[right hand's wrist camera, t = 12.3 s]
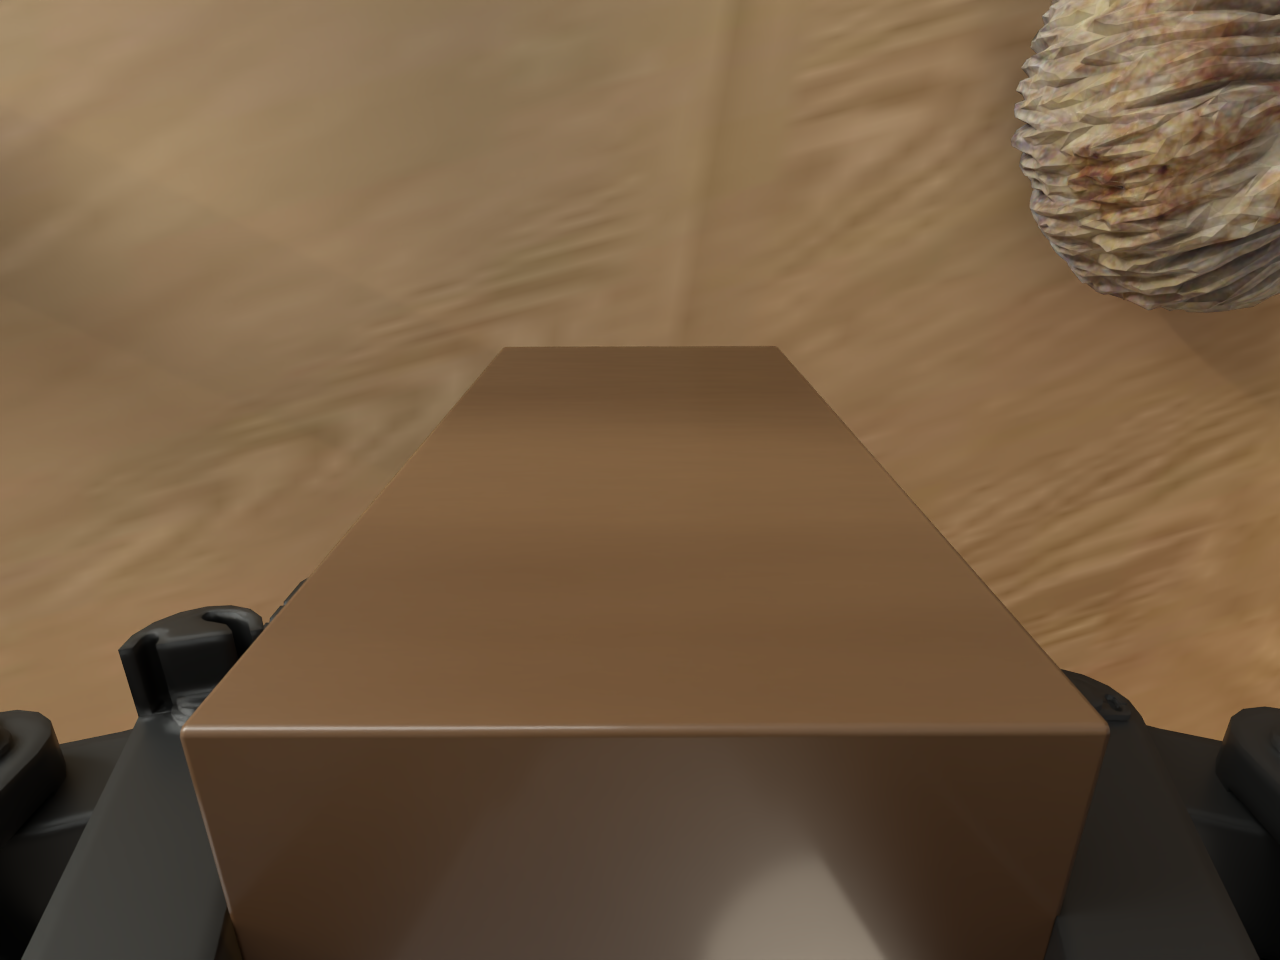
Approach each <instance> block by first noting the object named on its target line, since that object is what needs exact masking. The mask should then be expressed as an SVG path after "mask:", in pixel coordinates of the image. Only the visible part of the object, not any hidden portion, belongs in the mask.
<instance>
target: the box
mask: <svg viewBox="0 0 1280 960" xmlns="http://www.w3.org/2000/svg"><path fill="white" fill-rule="evenodd" d="M1109 738H1110V728H1109V725H1108V723H1107V722H1106V721H1105V720H1104V718H1103V717H1102V716H1101V715H1100V714H1099V713H1098V712H1097V710H1096V709H1095V708H1094V707H1093V706H1092V705H1091V704H1090V703H1089V701H1088V700H1087V699H1086V698H1085V697H1084V696H1083V695H1082V693H1081V692H1080V691H1079V690H1078V689H1077V688H1076V687H1075V685H1074V684H1073V683H1072V682H1071V681H1070V680H1069V679H1068V677H1067V676H1066V675H1065V674H1064V673H1063V672H1062V671H1061V670H1060V668H1059V667H1058V666H1057V665H1056V664H1055V663H1054V662H1053V660H1052V659H1051V658H1050V657H1049V656H1048V655H1047V654H1046V652H1045V651H1044V650H1043V649H1042V648H1041V647H1040V646H1039V644H1038V643H1037V642H1036V641H1035V640H1034V639H1033V638H1032V636H1031V635H1030V634H1029V633H1028V632H1027V631H1026V630H1025V629H1024V627H1023V626H1022V625H1021V624H1020V623H1019V622H1018V621H1017V619H1016V618H1015V617H1014V616H1013V615H1012V614H1011V613H1010V611H1009V610H1008V609H1007V608H1006V607H1005V606H1004V605H1003V603H1002V602H1001V601H1000V600H999V599H998V598H997V597H996V595H995V594H994V593H993V592H992V591H991V590H990V589H989V588H988V586H987V585H986V584H985V583H984V582H983V581H982V580H981V578H980V577H979V576H978V575H977V574H976V573H975V572H974V570H973V569H972V568H971V567H970V566H969V565H968V564H967V562H966V561H965V560H964V559H963V558H962V557H961V556H960V555H959V553H958V552H957V551H956V550H955V549H954V548H953V547H952V545H951V544H950V543H949V542H948V541H947V540H946V539H945V537H944V536H943V535H942V534H941V533H940V532H939V531H938V529H937V528H936V527H935V526H934V525H933V524H932V523H931V521H930V520H929V519H928V518H927V517H926V516H925V515H924V514H923V512H922V511H921V510H920V509H919V508H918V507H917V506H916V504H915V503H914V502H913V501H912V500H911V499H910V498H909V496H908V495H907V494H906V493H905V492H904V491H903V490H902V488H901V487H900V486H899V485H898V484H897V483H896V482H895V481H894V479H893V478H892V477H891V476H890V475H889V474H888V473H887V471H886V470H885V469H884V468H883V467H882V466H881V465H880V463H879V462H878V461H877V460H876V459H875V458H874V457H873V455H872V454H871V453H870V452H869V451H868V450H867V449H866V447H865V446H864V445H863V444H862V443H861V442H860V441H859V440H858V438H857V437H856V436H855V435H854V434H853V433H852V432H851V430H850V429H849V428H848V427H847V426H846V425H845V424H844V422H843V421H842V420H841V419H840V418H839V417H838V416H837V414H836V413H835V412H834V411H833V410H832V409H831V408H830V406H829V405H828V404H827V403H826V402H825V401H824V400H823V399H822V397H821V396H820V395H819V394H818V393H817V392H816V391H815V389H814V388H813V387H812V386H811V385H810V384H809V383H808V381H807V380H806V379H805V378H804V377H803V376H802V375H801V373H800V372H799V371H798V370H797V369H796V368H795V367H794V366H793V364H792V363H791V362H790V361H789V360H788V359H787V358H786V356H785V355H784V354H783V353H782V352H781V351H780V350H779V348H778V347H776V346H726V347H504V348H503V349H502V350H501V351H500V353H499V354H498V355H497V356H496V357H495V358H494V360H493V361H492V362H491V363H490V364H489V366H488V367H487V368H486V369H485V370H484V371H483V373H482V374H481V375H480V376H479V377H478V378H477V380H476V381H475V382H474V383H473V384H472V386H471V387H470V388H469V389H468V390H467V391H466V393H465V394H464V395H463V396H462V397H461V399H460V400H459V401H458V402H457V403H456V404H455V406H454V407H453V408H452V409H451V410H450V411H449V413H448V414H447V415H446V416H445V417H444V419H443V420H442V421H441V422H440V423H439V424H438V426H437V427H436V428H435V429H434V430H433V431H432V433H431V434H430V435H429V436H428V437H427V439H426V440H425V441H424V442H423V443H422V444H421V446H420V447H419V448H418V449H417V450H416V451H415V453H414V454H413V455H412V456H411V457H410V459H409V460H408V461H407V462H406V463H405V464H404V466H403V467H402V468H401V469H400V470H399V472H398V473H397V474H396V475H395V476H394V477H393V479H392V480H391V481H390V482H389V483H388V484H387V486H386V487H385V488H384V489H383V490H382V492H381V493H380V494H379V495H378V496H377V497H376V499H375V500H374V501H373V502H372V503H371V504H370V506H369V507H368V508H367V509H366V510H365V512H364V513H363V514H362V515H361V516H360V517H359V519H358V520H357V521H356V522H355V523H354V524H353V526H352V527H351V528H350V529H349V530H348V532H347V533H346V534H345V535H344V536H343V537H342V539H341V540H340V541H339V542H338V543H337V545H336V546H335V547H334V548H333V549H332V550H331V552H330V553H329V554H328V555H327V556H326V557H325V559H324V560H323V561H322V562H321V563H320V565H319V566H318V567H317V568H316V569H315V570H314V572H313V573H312V574H311V575H310V576H309V577H308V579H307V580H306V581H305V582H304V583H303V585H302V586H301V587H300V588H299V589H298V590H297V592H296V593H295V594H294V595H293V596H292V597H291V599H290V600H289V601H288V602H287V603H286V605H285V606H284V607H283V608H282V609H281V610H280V612H279V613H278V614H277V615H276V616H275V618H274V619H273V620H272V621H271V622H270V623H269V625H268V626H267V627H266V628H265V629H264V630H263V632H262V633H261V634H260V635H259V636H258V638H257V639H256V640H255V641H254V642H253V643H252V645H251V646H250V647H249V648H248V649H247V650H246V652H245V653H244V654H243V655H242V656H241V658H240V659H239V660H238V661H237V662H236V663H235V665H234V666H233V667H232V668H231V669H230V671H229V672H228V673H227V674H226V675H225V676H224V678H223V679H222V680H221V681H220V682H219V683H218V685H217V686H216V687H215V688H214V689H213V691H212V692H211V693H210V694H209V695H208V696H207V698H206V699H205V700H204V701H203V702H202V703H201V705H200V706H199V707H198V708H197V709H196V711H195V712H194V713H193V714H192V715H191V716H190V718H189V719H188V720H187V721H186V722H185V723H184V725H183V726H182V729H181V732H180V740H181V743H182V747H183V750H184V754H185V757H186V761H187V765H188V768H189V772H190V775H191V779H192V782H193V786H194V789H195V793H196V796H197V800H198V804H199V807H200V811H201V814H202V818H203V821H204V825H205V828H206V832H207V836H208V839H209V843H210V846H211V850H212V853H213V857H214V860H215V864H216V868H217V871H218V875H219V878H220V882H221V885H222V889H223V892H224V896H225V899H226V903H227V907H228V910H229V914H230V917H231V921H232V924H233V928H234V931H235V935H236V939H237V942H238V946H239V949H240V953H241V956H242V960H1044V958H1045V954H1046V951H1047V947H1048V944H1049V940H1050V937H1051V933H1052V929H1053V926H1054V922H1055V919H1056V916H1058V915H1060V911H1061V908H1062V904H1063V901H1064V897H1065V894H1066V890H1067V886H1068V883H1069V879H1070V876H1071V872H1072V869H1073V865H1074V862H1075V858H1076V855H1077V851H1078V848H1079V844H1080V840H1081V837H1082V833H1083V830H1084V826H1085V823H1086V819H1087V816H1088V812H1089V809H1090V805H1091V801H1092V798H1093V794H1094V791H1095V787H1096V784H1097V780H1098V777H1099V773H1100V770H1101V766H1102V763H1103V759H1104V755H1105V752H1106V748H1107V745H1108V741H1109Z"/></svg>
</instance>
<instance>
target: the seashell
mask: <svg viewBox="0 0 1280 960" xmlns="http://www.w3.org/2000/svg"><path fill="white" fill-rule="evenodd" d="M1051 3H1052V6H1050V9H1049V10H1048V11H1047V12H1046V13H1045V14H1044V15H1043V16H1042V18H1043V22H1044V27H1042V28H1041V29H1040V30H1039V31H1038V33H1037V34H1036V36H1035V37H1034V39H1033V40H1032V42H1031V44H1032V46H1031V47H1030V48H1031V49H1033V50H1034V51H1035V52H1036V53H1037V54H1036V55H1033V56H1031V58H1029V59H1027V60H1026V61H1025V63H1024V64H1023V66H1022V67H1021V68H1022V69H1023V70H1024V72H1025V73H1026V74H1027V75H1028V76H1029V78H1027V79H1024V80H1021V81H1020V82H1019V85H1018V87H1017V89H1016V91H1017V92H1019V93H1020V94H1022V95H1023V97H1024V100H1023V101H1021V102H1018V103H1015V108H1014V113H1015V117H1016V118H1018V119H1020V120H1022V121H1024V122H1026V123H1027V124H1025V125H1023V126H1022V127H1021V128H1019V129H1018V130H1016V132H1015V134H1014V135H1013V137H1012V138H1011V143H1012V146H1013V147H1015V148H1017V149H1018V150H1020V151H1022V152H1023V154H1022V155H1021V159H1020V164H1019V166H1020V168H1021V170H1022V172H1023V174H1024V175H1025V176H1028V178H1029V179H1030V181H1031V185H1032V188H1034V190H1033V191H1032V195H1031V199H1030V210H1031V212H1032V215H1033V217H1034V219H1035V221H1036V222H1037V224H1038V227H1039V229H1040V230H1041V231H1042V233H1043V234H1044V236H1045V237H1046V238H1047V239H1048V240H1049V241H1050V244H1051V246H1052V248H1053V249H1054V251H1055V252H1056V253H1057V254H1058V255H1059V256H1060V257H1062V258H1063V259H1064V260H1065V261H1066V262H1067V263H1068V266H1069V267H1070V269H1071V270H1072V271H1073V273H1074V274H1075V275H1076V276H1077V277H1078V279H1079V280H1080V281H1081V282H1082V283H1087V284H1088V285H1089V286H1090V287H1092V288H1093V289H1094V290H1095V291H1096V292H1099V293H1101V294H1110V295H1113V296H1116V297H1120V298H1123V300H1128V301H1131V302H1133V303H1135V304H1137V305H1139V306H1141V307H1143V308H1145V309H1147V310H1151V309H1155V308H1158V307H1163V308H1165V309H1167V310H1169V311H1171V310H1175V309H1183V310H1185V311H1187V312H1218V311H1229V310H1234V309H1241V308H1247V307H1253V306H1255V305H1257V304H1259V303H1260V302H1262V301H1264V300H1266V299H1268V298H1269V297H1271V296H1274V295H1276V294H1279V293H1280V0H1052V2H1051Z"/></svg>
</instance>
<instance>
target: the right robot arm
mask: <svg viewBox="0 0 1280 960" xmlns="http://www.w3.org/2000/svg"><path fill="white" fill-rule="evenodd" d="M307 579H308V578H307ZM307 579H305V580H303V581H302V582H300V584H299V585H298V586H297V587H296V588H295V589H294V591H293V592H292V593H291V594H290V595H289V596H288V598H287V599H286V600H285V601H284V606H285V605H286V603H287V602H288V601H289V600H290V599H291V597H292V596H293V595H294V594H295V593H296V592H297V590H298V589H299V588H300V587H301V586H302V585H303V583H304V582H305V581H306V580H307ZM284 606H280V607H279V608H278V609H277V611H276V612H275V613H274V614H273V615H272V616H271V618H270V622H271V621H272V620H273V619H274V618H275V616H276V615H277V614H278V613H279V612H280V610H281V609H282V608H283V607H284ZM270 622H269V623H270ZM269 623H266V624H265V625H264V626H263V622H262V617H261V616H259V615H258V614H257V613H255V612H254V611H252V610H251V609H248V608H243V607H237V606H232V605H229V606H208V607H203V608H198V609H193V610H189V611H184V612H180V613H177V614H175V615H172V616H169V617H167V618H164V619H162V620H159V621H156V622H154V623H152V624H150V625H149V626H147V627H145V628H144V629H142V630H140V631H139V632H137V633H135V634H134V635H132V636H131V637H130V638H129V639H128V640H127V641H126V642H125V643H124V645H123V646H122V647H121V648H120V649H119V650H118V651H119V654H120V657H121V661H122V664H123V667H124V670H125V674H126V677H127V680H128V684H129V687H130V690H131V693H132V697H133V700H134V703H135V706H136V710H137V713H138V716H139V718H138V720H137V722H136V724H135V726H134V728H133V729H131V730H127V731H123V732H118V733H113V734H108V735H103V736H98V737H93V738H89V739H84V740H79V741H74V742H69V743H64V744H59V743H58V740H57V737H56V734H55V731H54V729H53V726H52V723H51V721H50V720H49V719H48V718H46V717H45V716H43V715H42V714H41V713H39V712H32V711H22V710H13V711H6V712H0V960H242V956H241V953H240V949H239V946H238V942H237V939H236V935H235V931H234V928H233V924H232V921H231V917H230V914H229V910H228V907H227V903H226V899H225V896H224V892H223V889H222V885H221V882H220V878H219V875H218V871H217V868H216V864H215V860H214V857H213V853H212V850H211V846H210V843H209V839H208V836H207V832H206V828H205V825H204V821H203V818H202V814H201V811H200V807H199V804H198V800H197V796H196V793H195V789H194V786H193V782H192V779H191V775H190V772H189V768H188V765H187V761H186V757H185V754H184V750H183V747H182V743H181V740H180V732H181V729H182V726H183V725H184V723H185V722H186V721H187V720H188V719H189V718H190V716H191V715H192V714H193V713H194V712H195V711H196V709H197V708H198V707H199V706H200V705H201V703H202V702H203V701H204V700H205V699H206V698H207V696H208V695H209V694H210V693H211V692H212V691H213V689H214V688H215V687H216V686H217V685H218V683H219V682H220V681H221V680H222V679H223V678H224V676H225V675H226V674H227V673H228V672H229V671H230V669H231V668H232V667H233V666H234V665H235V663H236V662H237V661H238V660H239V659H240V658H241V656H242V655H243V654H244V653H245V652H246V650H247V649H248V648H249V647H250V646H251V645H252V643H253V642H254V641H255V640H256V639H257V638H258V636H259V635H260V634H261V633H262V632H263V630H264V629H265V628H266V627H267V626H268V625H269ZM1060 670H1061V671H1062V672H1063V673H1064V674H1065V675H1066V676H1067V677H1068V679H1069V680H1070V681H1071V682H1072V683H1073V684H1074V685H1075V687H1076V688H1077V689H1078V690H1079V691H1080V692H1081V693H1082V695H1083V696H1084V697H1085V698H1086V699H1087V700H1088V701H1089V703H1090V704H1091V705H1092V706H1093V707H1094V708H1095V709H1096V710H1097V712H1098V713H1099V714H1100V715H1101V716H1102V717H1103V718H1104V720H1105V721H1106V722H1107V723H1108V725H1109V728H1110V738H1109V741H1108V745H1107V748H1106V752H1105V755H1104V759H1103V763H1102V766H1101V770H1100V773H1099V777H1098V780H1097V784H1096V787H1095V791H1094V794H1093V798H1092V801H1091V805H1090V809H1089V812H1088V816H1087V819H1086V823H1085V826H1084V830H1083V833H1082V837H1081V840H1080V844H1079V848H1078V851H1077V855H1076V858H1075V862H1074V865H1073V869H1072V872H1071V876H1070V879H1069V883H1068V886H1067V890H1066V894H1065V897H1064V901H1063V904H1062V908H1061V911H1060V915H1058V916H1056V919H1055V922H1054V926H1053V929H1052V933H1051V937H1050V940H1049V944H1048V947H1047V951H1046V954H1045V958H1044V960H1280V709H1278V708H1271V707H1257V708H1247V709H1242V710H1241V711H1239V712H1238V713H1237V714H1235V715H1234V716H1232V717H1231V719H1230V722H1229V725H1228V728H1227V730H1226V733H1225V736H1224V739H1223V741H1219V740H1214V739H1209V738H1204V737H1199V736H1194V735H1189V734H1184V733H1179V732H1174V731H1169V730H1164V729H1159V728H1155V727H1151V726H1147V725H1145V722H1144V720H1143V718H1142V716H1141V715H1140V714H1139V712H1138V711H1137V710H1136V709H1135V707H1134V706H1133V705H1132V704H1131V702H1130V701H1129V700H1128V699H1126V698H1125V697H1123V696H1122V695H1121V694H1119V693H1118V692H1116V691H1115V690H1113V689H1112V688H1111V687H1109V686H1107V685H1105V684H1103V683H1101V682H1099V681H1096V680H1094V679H1092V678H1090V677H1087V676H1085V675H1082V674H1078V673H1074V672H1070V671H1066V670H1062V669H1060Z"/></svg>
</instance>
